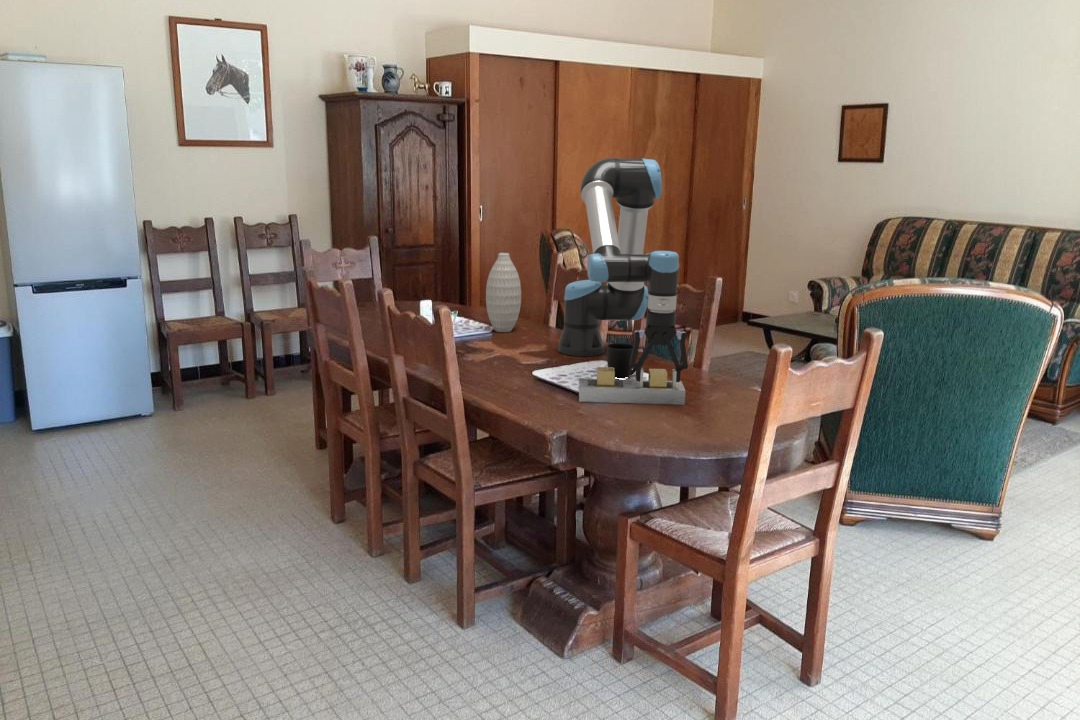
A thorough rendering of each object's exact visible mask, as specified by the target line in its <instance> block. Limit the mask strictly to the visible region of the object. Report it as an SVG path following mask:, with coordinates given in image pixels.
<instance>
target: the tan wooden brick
mask: <svg viewBox="0 0 1080 720" xmlns="http://www.w3.org/2000/svg"><path fill="white" fill-rule="evenodd" d="M614 378H615V370H614V368H613V367H608V366H606V367H605V366H604V367H603V366H597V370H596V379H597V387H614Z"/></svg>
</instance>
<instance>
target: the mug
mask: <svg viewBox="0 0 1080 720" xmlns="http://www.w3.org/2000/svg"><path fill="white" fill-rule="evenodd" d="M633 345H634V344H633ZM633 345H632V344H630V343H626V342H625V343H622V342H617V343H616V342H614V343H610V344H609V343H608V344H607V346H606V362H607V363H606V364H607V367H613V368H614V370H615V377H617V378H625V377H629V376H630V377H631V376H632V375H634V374H636V369H635V368H632V367H630V364H629V362H630V358H631V354H632V350H633ZM645 347H646V346H639V348H638V350H642V351H643V350H644V349H645ZM630 377H629V378H630Z"/></svg>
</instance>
